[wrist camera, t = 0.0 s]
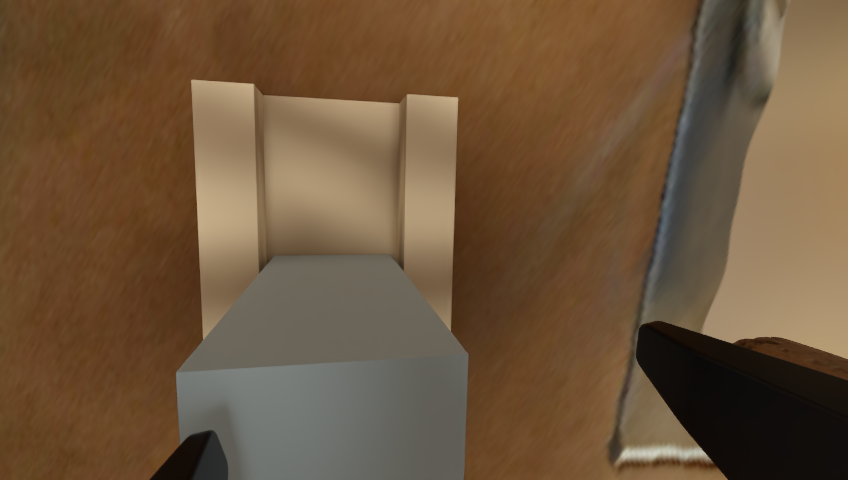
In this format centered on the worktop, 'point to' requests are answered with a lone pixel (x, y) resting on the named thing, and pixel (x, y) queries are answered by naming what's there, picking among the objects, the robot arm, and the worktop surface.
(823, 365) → the sweet potato
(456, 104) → the chute
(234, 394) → the grey rectangular block
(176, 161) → the worktop surface
